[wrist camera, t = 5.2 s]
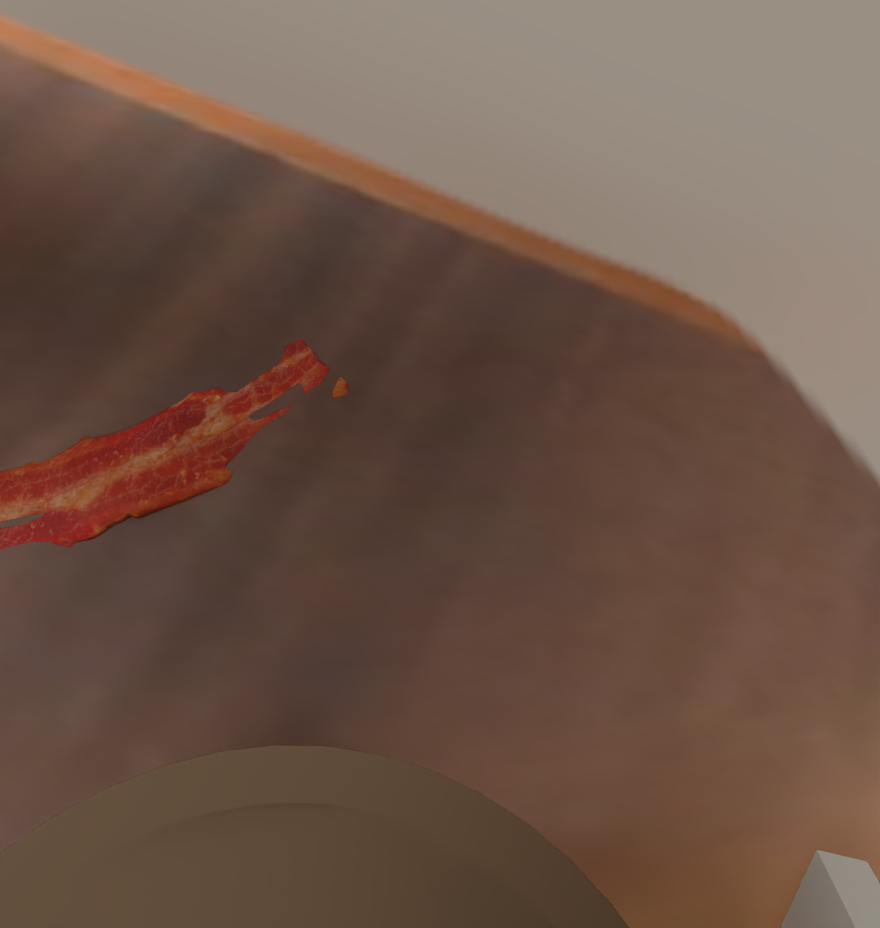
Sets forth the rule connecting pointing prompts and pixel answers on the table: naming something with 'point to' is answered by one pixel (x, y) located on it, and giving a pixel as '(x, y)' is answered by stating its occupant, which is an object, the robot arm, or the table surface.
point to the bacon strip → (148, 459)
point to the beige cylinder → (293, 852)
